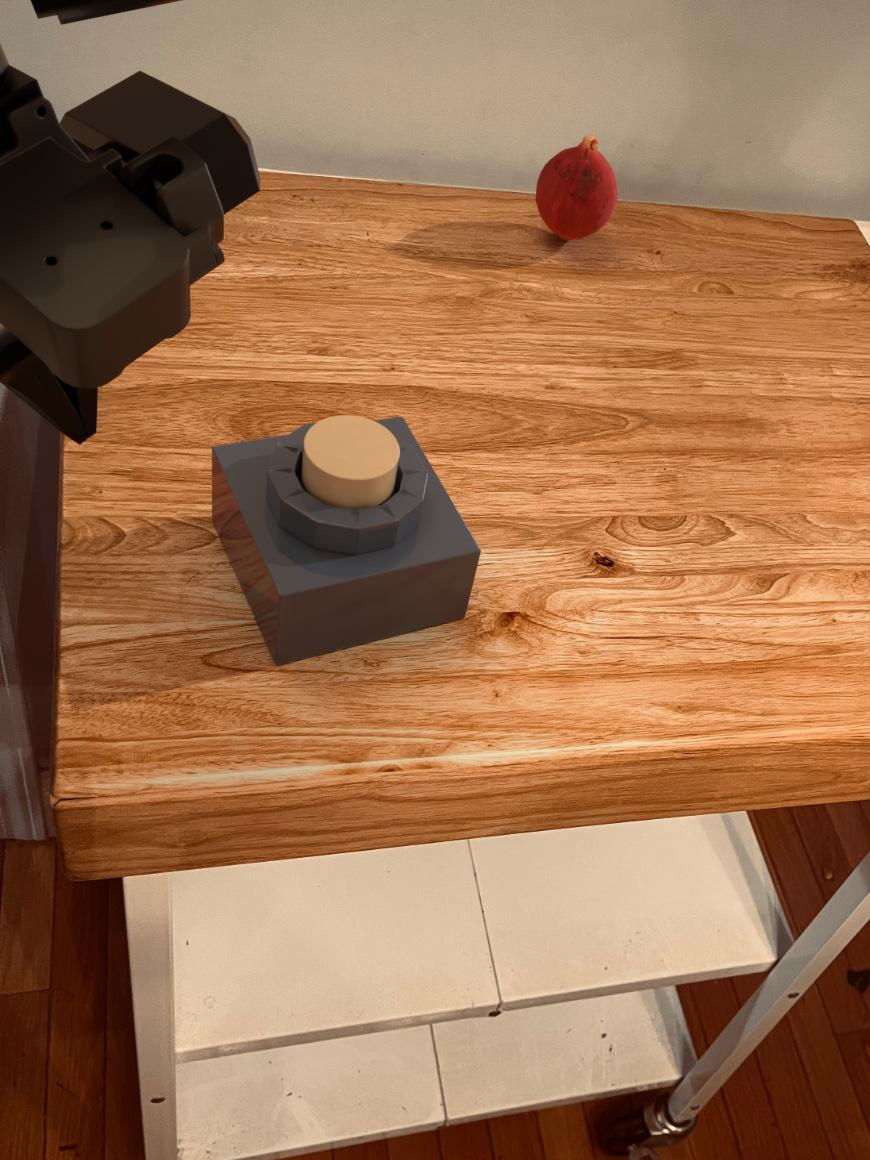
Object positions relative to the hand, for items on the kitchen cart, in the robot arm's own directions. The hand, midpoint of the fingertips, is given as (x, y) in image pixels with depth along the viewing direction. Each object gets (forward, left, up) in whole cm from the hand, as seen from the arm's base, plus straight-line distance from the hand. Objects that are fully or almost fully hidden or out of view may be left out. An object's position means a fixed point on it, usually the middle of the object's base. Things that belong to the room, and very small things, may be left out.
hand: (80, 434), depth 46 cm
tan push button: (+10, +6, -6) cm, 13 cm away
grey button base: (+10, +6, -13) cm, 17 cm away
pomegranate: (+23, +41, -13) cm, 49 cm away
